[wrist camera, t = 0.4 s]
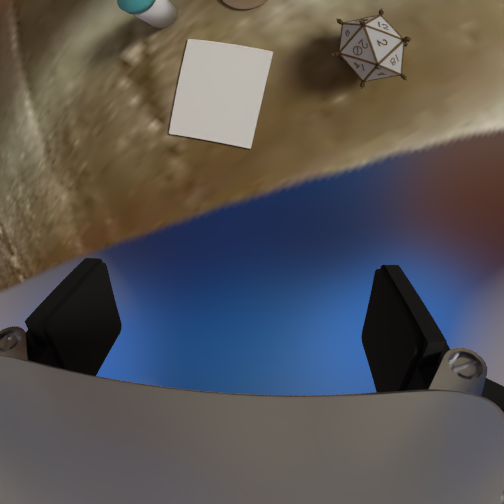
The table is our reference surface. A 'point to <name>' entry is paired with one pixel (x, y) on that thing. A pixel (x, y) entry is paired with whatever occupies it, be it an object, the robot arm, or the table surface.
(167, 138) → the table surface
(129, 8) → the marker
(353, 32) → the game die
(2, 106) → the table surface
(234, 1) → the disc
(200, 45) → the paper
